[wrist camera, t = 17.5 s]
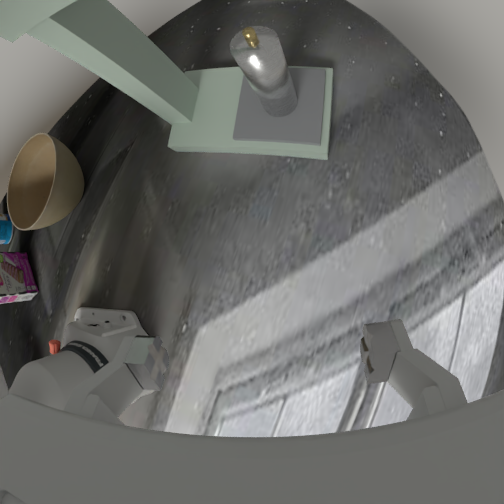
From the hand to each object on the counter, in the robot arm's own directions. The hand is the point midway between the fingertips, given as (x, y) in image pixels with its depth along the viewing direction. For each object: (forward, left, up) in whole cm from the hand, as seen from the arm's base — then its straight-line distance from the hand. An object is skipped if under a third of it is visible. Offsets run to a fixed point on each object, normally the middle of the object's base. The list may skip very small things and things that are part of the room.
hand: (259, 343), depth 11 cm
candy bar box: (-64, -12, -31) cm, 72 cm away
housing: (-7, +23, -27) cm, 36 cm away
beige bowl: (-49, +9, -31) cm, 59 cm away
